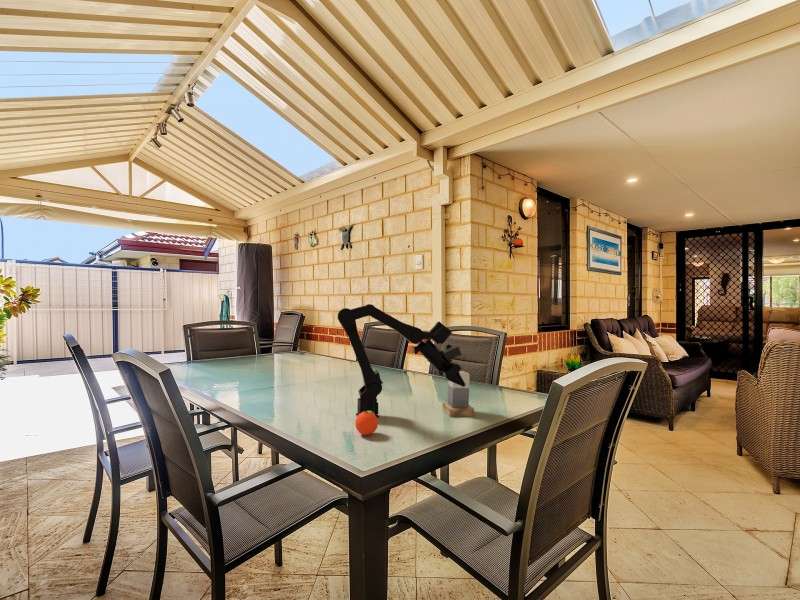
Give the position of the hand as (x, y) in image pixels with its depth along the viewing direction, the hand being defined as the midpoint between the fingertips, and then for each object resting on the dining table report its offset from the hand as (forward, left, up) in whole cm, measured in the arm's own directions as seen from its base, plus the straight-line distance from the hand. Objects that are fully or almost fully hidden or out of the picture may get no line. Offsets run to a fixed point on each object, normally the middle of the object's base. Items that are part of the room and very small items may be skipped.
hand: (461, 383), depth 143 cm
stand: (-1, 0, -10) cm, 11 cm away
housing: (-1, 0, -8) cm, 8 cm away
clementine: (-39, -8, -11) cm, 42 cm away
